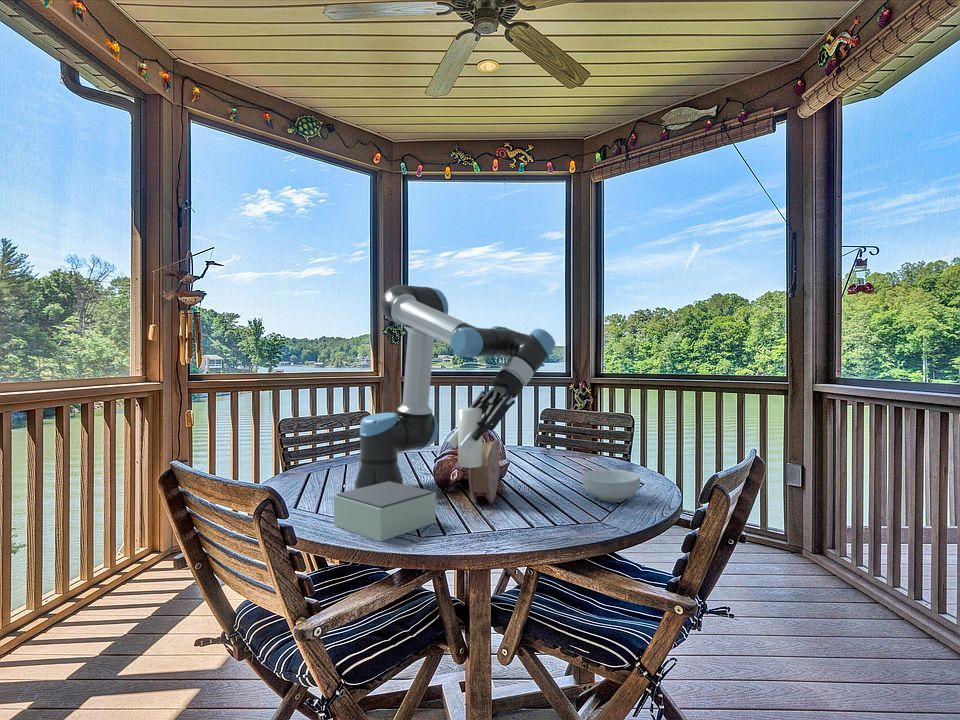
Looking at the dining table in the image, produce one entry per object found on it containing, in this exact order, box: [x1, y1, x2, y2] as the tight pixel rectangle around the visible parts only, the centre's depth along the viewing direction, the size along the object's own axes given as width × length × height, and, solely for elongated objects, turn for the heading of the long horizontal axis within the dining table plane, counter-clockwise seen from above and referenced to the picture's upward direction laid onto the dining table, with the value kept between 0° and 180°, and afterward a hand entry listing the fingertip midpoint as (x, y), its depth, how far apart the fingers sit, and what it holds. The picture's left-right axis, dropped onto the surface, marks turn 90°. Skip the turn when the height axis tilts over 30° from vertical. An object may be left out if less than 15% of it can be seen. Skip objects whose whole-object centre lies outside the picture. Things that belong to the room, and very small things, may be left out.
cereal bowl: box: [581, 468, 641, 503], centre depth 162 cm, size 17×17×7 cm
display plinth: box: [333, 481, 437, 542], centre depth 139 cm, size 18×18×8 cm
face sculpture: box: [468, 438, 501, 504], centre depth 163 cm, size 20×7×17 cm, turn 171°
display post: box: [457, 407, 483, 469], centre depth 137 cm, size 6×6×14 cm
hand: (457, 446), depth 135 cm, fingers closed on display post, 6 cm apart
